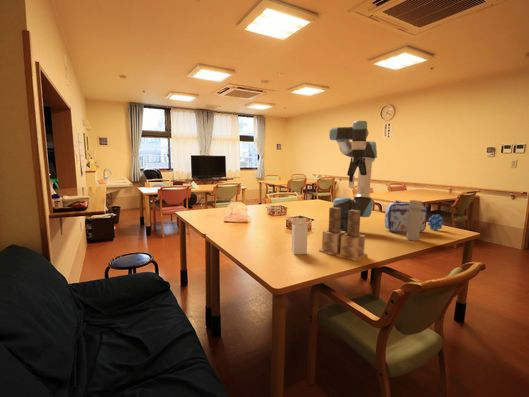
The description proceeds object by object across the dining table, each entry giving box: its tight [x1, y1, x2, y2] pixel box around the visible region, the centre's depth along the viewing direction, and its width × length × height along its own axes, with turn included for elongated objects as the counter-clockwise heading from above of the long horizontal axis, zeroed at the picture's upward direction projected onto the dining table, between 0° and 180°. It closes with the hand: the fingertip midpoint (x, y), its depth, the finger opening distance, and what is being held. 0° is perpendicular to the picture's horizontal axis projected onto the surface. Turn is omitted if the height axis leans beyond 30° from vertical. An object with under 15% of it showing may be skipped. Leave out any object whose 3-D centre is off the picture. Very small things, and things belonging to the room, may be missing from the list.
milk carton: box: [291, 217, 309, 255], centre depth 154 cm, size 7×7×19 cm
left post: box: [328, 206, 341, 234], centre depth 156 cm, size 5×5×23 cm
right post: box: [346, 209, 361, 238], centre depth 148 cm, size 5×5×23 cm
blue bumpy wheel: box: [427, 214, 445, 231], centre depth 204 cm, size 12×7×12 cm, turn 23°
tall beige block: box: [404, 199, 423, 242], centre depth 179 cm, size 9×8×25 cm
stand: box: [318, 229, 368, 262], centre depth 153 cm, size 22×12×11 cm, turn 47°
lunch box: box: [384, 199, 428, 234], centre depth 199 cm, size 28×10×22 cm, turn 88°
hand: (356, 187), depth 162 cm, fingers open, 13 cm apart
